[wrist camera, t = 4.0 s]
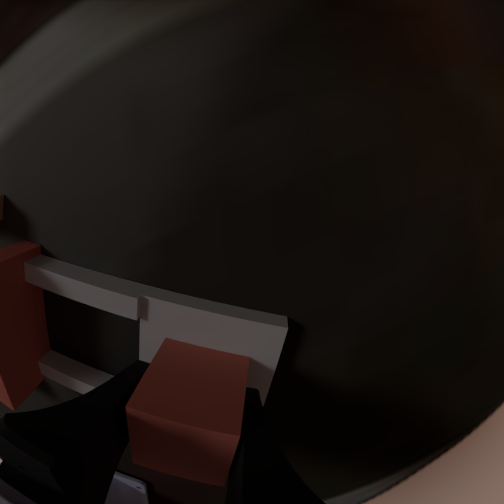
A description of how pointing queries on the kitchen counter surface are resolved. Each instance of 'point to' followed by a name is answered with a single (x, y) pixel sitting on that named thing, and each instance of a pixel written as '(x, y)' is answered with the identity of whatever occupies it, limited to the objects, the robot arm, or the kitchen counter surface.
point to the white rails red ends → (145, 359)
